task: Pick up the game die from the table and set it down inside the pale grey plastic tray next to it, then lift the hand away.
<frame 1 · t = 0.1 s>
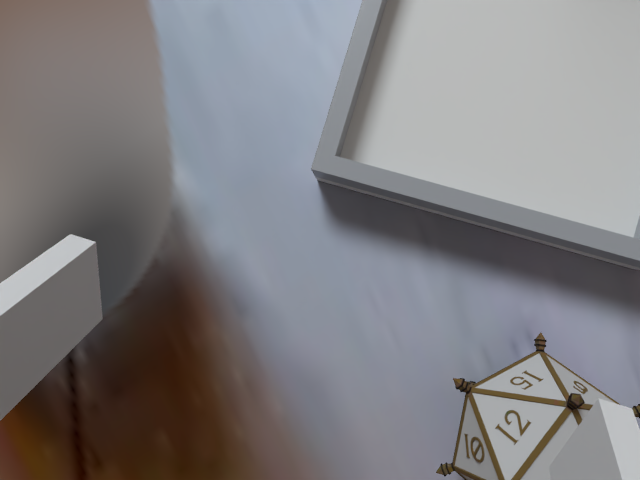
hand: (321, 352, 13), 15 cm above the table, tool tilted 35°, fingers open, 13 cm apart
game die: (511, 416, 27), on the table
tray: (511, 80, 28), on the table
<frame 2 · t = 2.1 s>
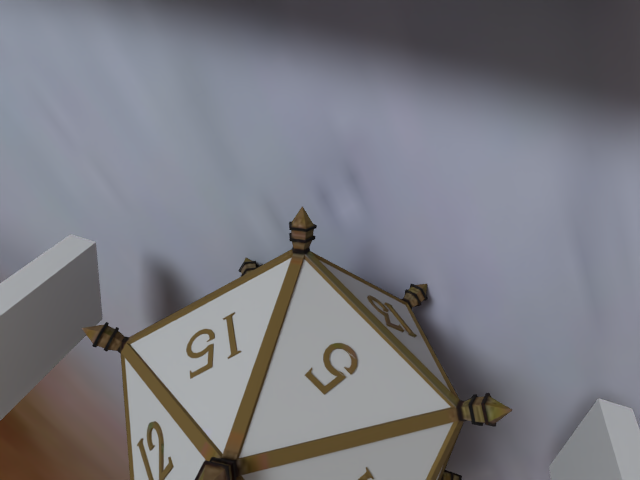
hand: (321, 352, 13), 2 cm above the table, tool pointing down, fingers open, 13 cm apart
game die: (333, 308, 15), on the table
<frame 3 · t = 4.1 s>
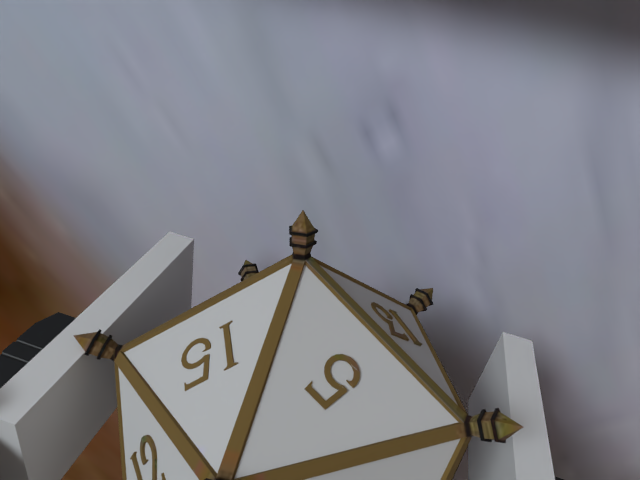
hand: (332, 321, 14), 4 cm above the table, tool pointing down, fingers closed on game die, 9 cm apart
game die: (335, 312, 14), point 3 cm above the table, touching gripper
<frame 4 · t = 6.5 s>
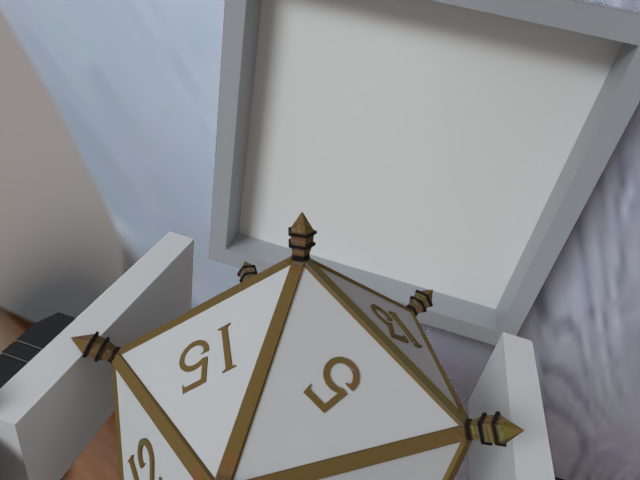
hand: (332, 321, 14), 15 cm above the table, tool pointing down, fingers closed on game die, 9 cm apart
game die: (335, 313, 14), point 14 cm above the table, touching gripper
tray: (396, 148, 26), on the table
when the fingers open (3 cm above the table, at t = 9.3 s): game die drops 2 cm, resting on tray.
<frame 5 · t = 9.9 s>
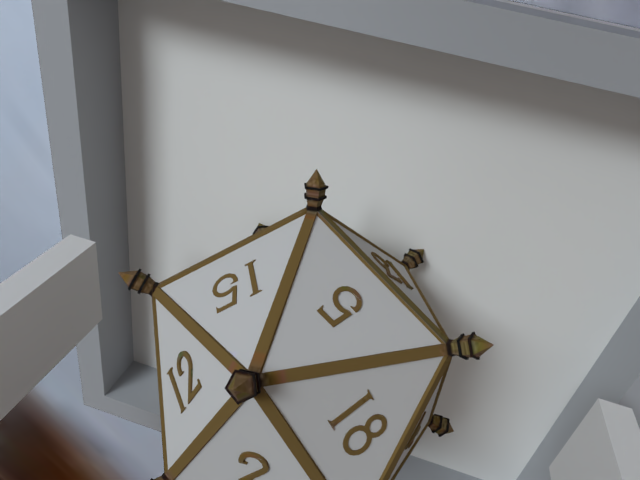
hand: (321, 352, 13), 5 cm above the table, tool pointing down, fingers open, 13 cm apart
game die: (337, 272, 16), point 1 cm above the table, touching tray
tray: (355, 259, 17), on the table
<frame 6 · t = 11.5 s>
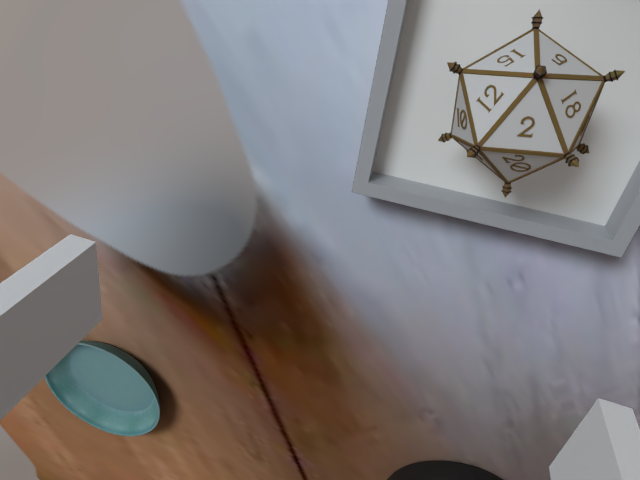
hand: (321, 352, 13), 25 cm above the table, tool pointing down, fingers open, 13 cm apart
game die: (515, 90, 30), point 1 cm above the table, touching tray
tray: (522, 86, 31), on the table
saucer: (115, 374, 58), on the table
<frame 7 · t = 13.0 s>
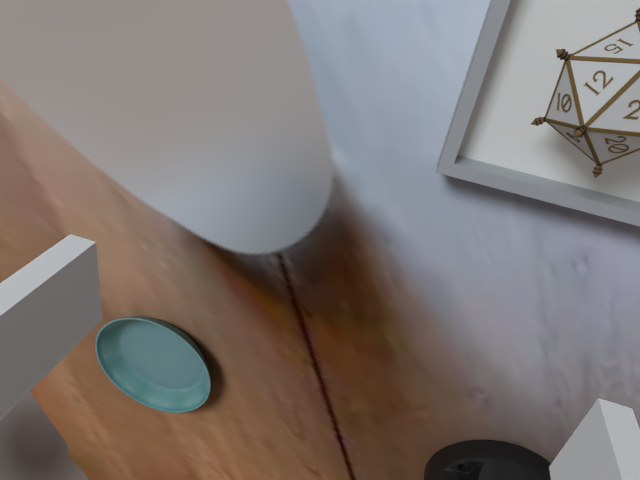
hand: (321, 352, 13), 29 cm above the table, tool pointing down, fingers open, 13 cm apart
game die: (601, 80, 33), point 1 cm above the table, touching tray
tray: (607, 77, 33), on the table
saucer: (164, 352, 60), on the table
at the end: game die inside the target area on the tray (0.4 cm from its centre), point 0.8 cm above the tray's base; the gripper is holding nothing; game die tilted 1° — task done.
